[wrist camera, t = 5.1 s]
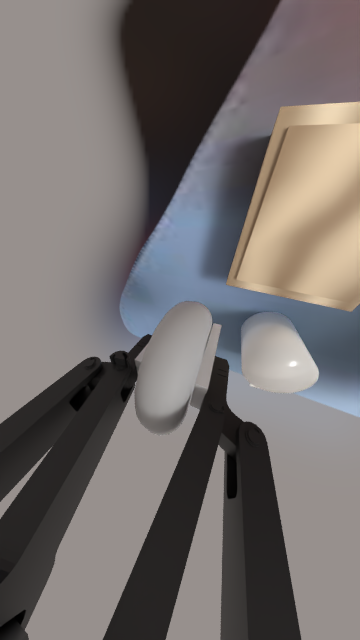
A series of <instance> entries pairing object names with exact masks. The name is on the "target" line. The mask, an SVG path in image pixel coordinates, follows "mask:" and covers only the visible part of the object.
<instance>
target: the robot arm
mask: <svg viewBox="0 0 360 640" xmlns="http://www.w3.org/2000/svg"><path fill="white" fill-rule="evenodd" d="M220 330H221V325H219V324H215V323H213V327H212V330H211V333H210V336H209V340H208V343H207V346H206V350H205V353H204V356H203V360H202V363H201V366H200V369H199V373H198V376H197V379H196V383H195V386H194V390H193V394H192V397H191V401H190V405H191V406H194V407H196V408H198V409H200V412H199V414H198V417H197V419H196V421H195V424H194V426H193V428H192V431H191V433H190V435H189V438H188V440H187V443H186V445H185V447H184V450H183V452H182V454H181V457H180V459H179V461H178V464H177V466H176V469H175V471H174V473H173V476H172V478H171V480H170V483H169V485H168V488H167V490H166V492H165V494H164V497H163V499H162V502H161V504H160V506H159V508H158V511H157V513H156V516H155V518H154V520H153V523H152V525H151V527H150V530H149V532H148V534H147V537H146V539H145V542H144V544H143V546H142V549H141V551H140V553H139V556H138V558H137V561H136V563H135V565H134V567H133V570H132V573H131V575H130V577H129V579H128V582H127V584H126V586H125V589H124V591H123V593H122V596H121V598H120V601H119V603H118V605H117V608H116V610H115V612H114V615H113V617H112V619H111V622H110V624H109V626H108V629H107V631H106V634H105V636H104V638H103V640H165V639H166V636H167V632H168V628H169V624H170V621H171V617H172V613H173V609H174V606H175V602H176V599H177V595H178V591H179V588H180V584H181V580H182V576H183V573H184V569H185V566H186V562H187V558H188V554H189V551H190V547H191V543H192V540H193V536H194V532H195V529H196V525H197V521H198V517H199V514H200V510H201V506H202V503H203V499H204V495H205V492H206V488H207V484H208V481H209V477H210V473H211V469H212V466H213V462H214V458H215V455H216V451H217V447H218V445H220V447H221V448H222V449H224V451H225V464H224V509H223V553H222V554H223V555H222V596H221V601H222V602H221V640H301V635H300V630H299V624H298V618H297V612H296V606H295V600H294V595H293V589H292V584H291V578H290V572H289V567H288V561H287V555H286V548H285V543H284V537H283V532H282V525H281V520H280V514H279V508H278V502H277V497H276V491H275V485H274V480H273V474H272V468H271V462H270V456H269V450H268V446H267V441H266V438H265V435H264V434H263V432H262V430H261V429H260V428H259V427H257V425H255V424H253V423H252V422H243V421H242V420H241V419H240V418H238V417H237V416H236V415H235V414H234V413H233V412H231V410H230V409H229V407H228V405H227V401H226V393H227V384H228V373H229V364H228V362H227V360H225V359H222V358H219V357H216V356H215V353H216V349H217V344H218V339H219V335H220ZM151 337H152V335H149V334H148V335H146V336H144V337H142V339H141V340H140V341H139V342H138V343H137V344H136V345H135V346H134V347H133V348H132V349H131V351H130V352H129V353H127V352H125V351H117V352H115V353H113V354H112V355H111V356H110V359H111V362H101V360H100V359H99V358H98V357H90V358H87V359H85V360H84V361H82V362H81V363H80V364H78V365H77V366H76V367H74V368H73V369H72V370H70V371H69V372H68V373H66V374H65V375H64V376H63V377H61V378H60V379H59V380H57V381H56V382H55V383H53V384H52V385H51V386H49V387H48V388H47V389H45V390H44V391H43V392H42V393H40V394H39V395H38V396H36V397H35V398H34V399H32V400H31V401H30V402H28V403H27V404H26V405H24V406H23V407H22V408H21V409H19V410H18V411H17V412H15V413H14V414H13V415H11V416H10V417H9V418H7V419H6V420H5V421H3V422H2V423H1V424H0V502H1V500H2V499H3V498H4V497H5V496H6V495H7V494H8V493H9V492H10V491H11V490H12V489H13V488H14V487H15V485H16V484H17V483H18V482H19V481H20V480H21V479H22V478H23V477H24V476H25V475H26V474H27V473H28V472H29V471H30V470H31V468H32V467H33V466H34V465H35V464H36V463H37V462H38V461H39V460H40V459H41V458H42V457H43V456H44V454H45V453H46V452H47V451H48V450H49V449H50V448H51V447H52V446H53V447H52V448H51V450H50V451H49V452H48V454H47V455H46V457H45V458H44V459H43V461H42V462H41V464H40V465H39V466H38V468H37V469H36V470H35V472H34V473H33V474H32V476H31V477H30V479H29V480H28V481H27V483H26V484H25V485H24V487H23V488H22V490H21V491H20V493H19V494H18V495H17V497H16V498H15V500H14V501H13V502H12V504H11V505H10V506H9V508H8V509H7V511H6V512H5V513H4V515H3V516H2V517H1V519H0V640H29V638H28V634H27V633H26V632H25V628H26V626H27V624H28V622H29V619H30V617H31V615H32V613H33V611H34V609H35V606H36V604H37V602H38V600H39V598H40V596H41V594H42V591H43V589H44V587H45V585H46V583H47V580H48V578H49V576H50V574H51V571H52V568H53V565H54V561H55V555H56V552H57V549H58V547H59V544H60V542H61V540H62V538H63V536H64V534H65V532H66V530H67V528H68V526H69V524H70V522H71V520H72V517H73V515H74V513H75V511H76V509H77V507H78V505H79V503H80V501H81V499H82V497H83V494H84V492H85V490H86V488H87V486H88V484H89V481H90V479H91V478H92V476H93V474H94V471H95V469H96V467H97V465H98V463H99V461H100V459H101V457H102V455H103V453H104V451H105V448H106V446H107V444H108V442H109V440H110V438H111V436H112V434H113V432H114V430H115V428H116V426H117V423H118V421H119V419H120V417H121V415H122V413H123V411H124V409H125V407H126V405H127V403H128V400H129V398H130V396H131V394H132V392H133V390H134V388H135V382H136V381H137V378H138V372H139V367H140V364H141V361H142V359H143V356H144V353H145V350H146V347H147V345H148V343H149V341H150V339H151Z"/></svg>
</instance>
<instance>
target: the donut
mask: <svg viewBox="0 0 360 640" xmlns="http://www.w3.org/2000/svg"><path fill="white" fill-rule="evenodd" d="M211 328H212V317H211V313H210V312H209V310H208V308H206V307H205V306H204V305H203V304H201V303H198V302H192V301H184V302H180V303H179V304H177V305H175V306H174V307H173V308H172V309H170V310H169V311H168V312H167V313H166V314H165V316H164V317H163V319H162V320H161V322H160V323H159V325H158V326H157V327H156V329H155V331H154V333H153V335H152V337H151V339H150V341H149V343H148V345H147V347H146V350H145V353H144V356H143V359H142V361H141V364H140V367H139V372H138V378H137V383H136V388H135V409H136V414H137V417H138V419H139V420H140V422H141V424H142V425H143V426H144V427H145V428H147V429H148V430H149V431H150V432H151V433H154V434H157V435H166V434H170V433H171V432H173V431H175V430H176V429H177V428H178V427H179V426H180V425H181V424H182V422H183V420H184V418H185V416H186V413H187V410H188V407H189V404H190V401H191V397H192V394H193V390H194V386H195V383H196V379H197V376H198V373H199V369H200V366H201V363H202V360H203V356H204V353H205V350H206V346H207V343H208V339H209V336H210V332H211Z"/></svg>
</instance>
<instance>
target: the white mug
mask: <svg viewBox="0 0 360 640" xmlns="http://www.w3.org/2000/svg"><path fill="white" fill-rule="evenodd" d="M241 360H242V373H243V376H244V377H245V379H246V380H247V381H248V382H249V386H252V387H254V388H260V389H262V390H265V391H269V392H274V393H294V392H299V391H303V390H305V389H308V388H310V387H311V386H312V385H314V384H315V383H316V381H317V380H318V377H319V370H318V368H317V366H316V364H315V362H314V360H313V359H312V357H311V355H310V353H309V352H308V350H307V348H306V346H305V344H304V343H303V341H302V339H301V337H300V336H299V334H298V332H297V330H296V328H295V327H294V325H293V323H292V322H291V320H290V319H289V318H288V317H286V316H285V315H283V314H280V313H277V312H260V313H257V314H254V315H252V316H250V317H249V318H248V319H246V320H245V322H244V323H243V325H242V327H241Z"/></svg>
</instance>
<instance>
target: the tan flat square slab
mask: <svg viewBox="0 0 360 640" xmlns="http://www.w3.org/2000/svg"><path fill="white" fill-rule="evenodd" d="M226 285H230V286H234V287H239V288H244V289H248V290H253V291H258V292H262V293H267V294H271V295H276V296H281V297H285V298H290V299H295V300H299V301H304V302H309V303H313V304H318V305H323V306H327V307H332V308H336V309H341V310H346V311H350V312H352V311H353V310H354V309H355V308H356V307H357V306H358V305H359V304H360V102H350V103H334V104H318V105H303V106H287V107H281V108H280V111H279V114H278V117H277V119H276V122H275V125H274V128H273V131H272V134H271V137H270V140H269V144H268V147H267V150H266V154H265V157H264V160H263V163H262V167H261V170H260V173H259V176H258V180H257V183H256V186H255V190H254V193H253V196H252V199H251V203H250V206H249V209H248V212H247V216H246V219H245V222H244V225H243V229H242V232H241V235H240V239H239V242H238V245H237V248H236V252H235V255H234V258H233V261H232V265H231V268H230V271H229V275H228V278H227V283H226Z"/></svg>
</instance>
